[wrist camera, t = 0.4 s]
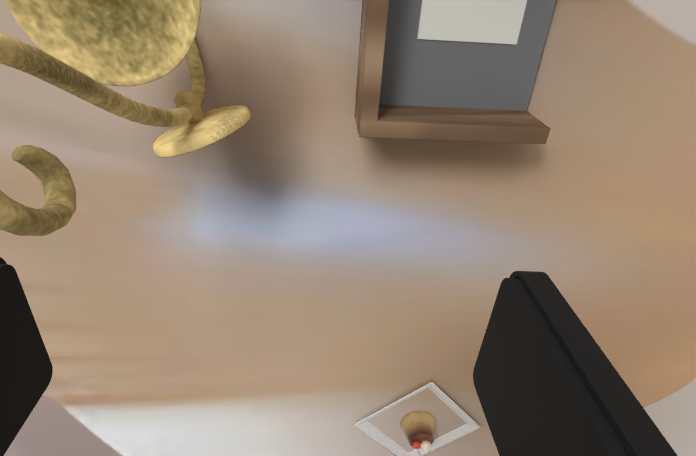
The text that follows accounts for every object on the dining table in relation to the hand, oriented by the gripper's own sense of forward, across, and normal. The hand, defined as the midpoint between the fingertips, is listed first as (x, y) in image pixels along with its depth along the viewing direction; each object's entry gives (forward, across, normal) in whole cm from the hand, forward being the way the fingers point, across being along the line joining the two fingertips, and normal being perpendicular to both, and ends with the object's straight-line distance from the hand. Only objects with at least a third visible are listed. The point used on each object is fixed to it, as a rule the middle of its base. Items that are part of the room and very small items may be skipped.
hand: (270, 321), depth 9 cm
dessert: (+30, -16, +44) cm, 56 cm away
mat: (+29, -11, -4) cm, 31 cm away
